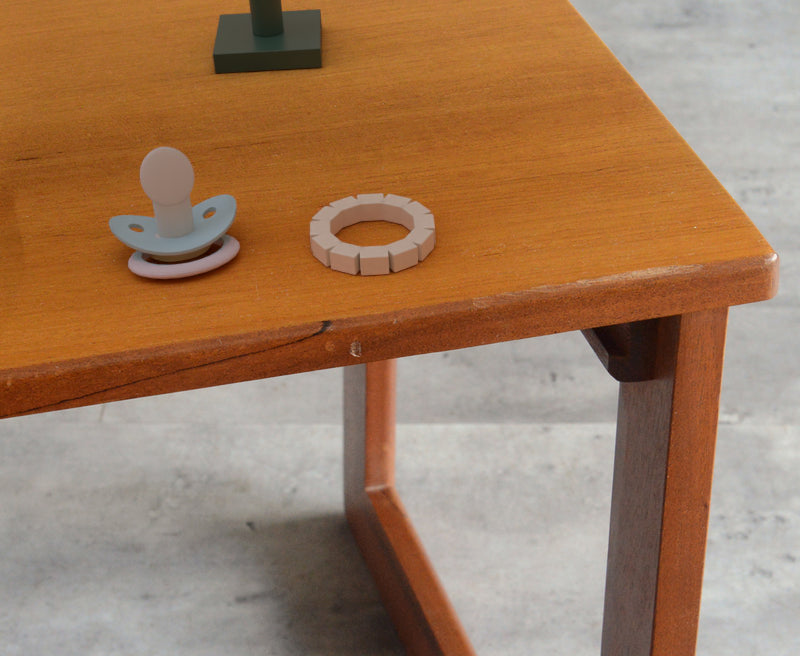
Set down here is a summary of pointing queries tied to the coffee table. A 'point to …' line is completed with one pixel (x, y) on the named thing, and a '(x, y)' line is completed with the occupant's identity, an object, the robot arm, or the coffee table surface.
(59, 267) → the coffee table surface
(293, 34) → the stand
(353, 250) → the ring
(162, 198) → the pacifier
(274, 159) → the coffee table surface
